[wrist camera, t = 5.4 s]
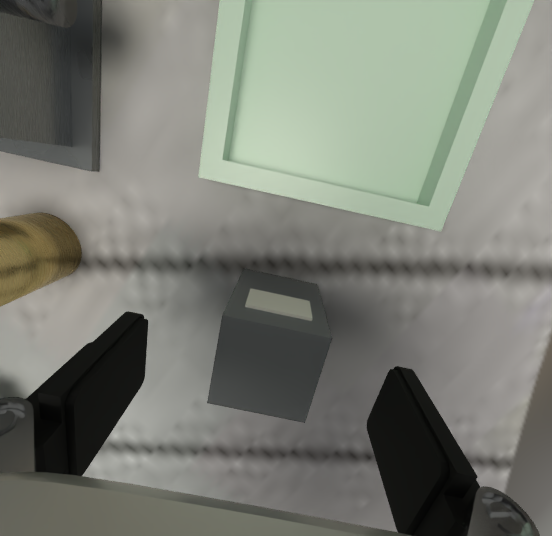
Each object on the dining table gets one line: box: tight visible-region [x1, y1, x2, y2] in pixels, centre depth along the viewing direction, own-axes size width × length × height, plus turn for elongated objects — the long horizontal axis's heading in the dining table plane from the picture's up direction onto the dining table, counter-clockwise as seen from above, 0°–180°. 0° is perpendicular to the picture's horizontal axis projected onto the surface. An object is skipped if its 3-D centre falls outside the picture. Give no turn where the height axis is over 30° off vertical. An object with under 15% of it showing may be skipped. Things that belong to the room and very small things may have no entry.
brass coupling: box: [0, 213, 82, 306], centre depth 15 cm, size 4×4×5 cm
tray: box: [198, 0, 534, 231], centre depth 13 cm, size 12×12×2 cm
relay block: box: [207, 269, 332, 423], centre depth 15 cm, size 5×4×6 cm
